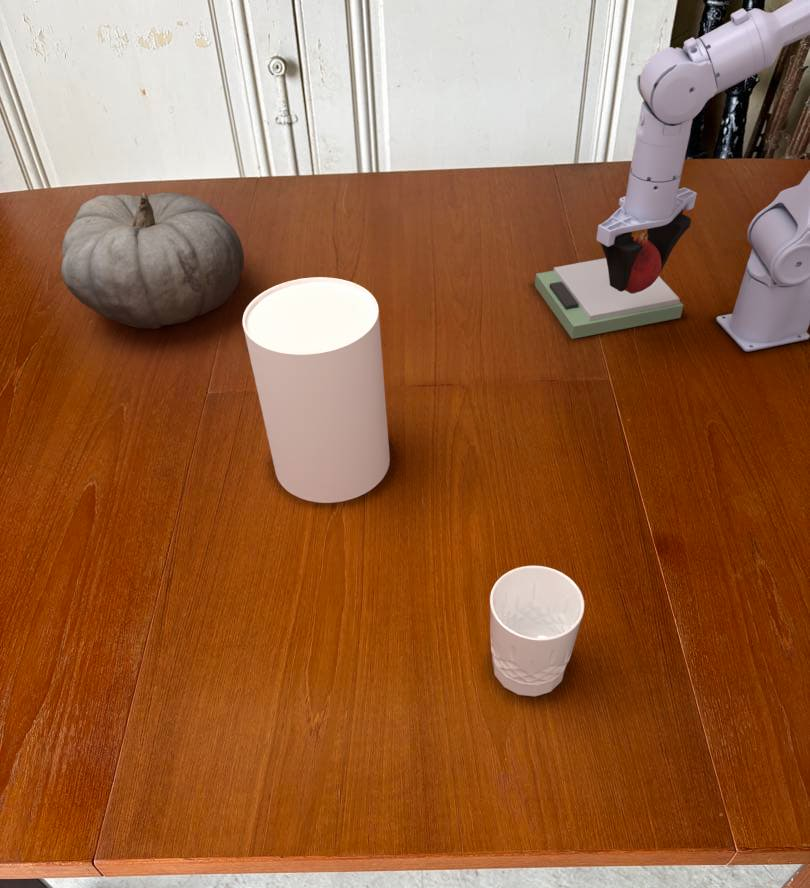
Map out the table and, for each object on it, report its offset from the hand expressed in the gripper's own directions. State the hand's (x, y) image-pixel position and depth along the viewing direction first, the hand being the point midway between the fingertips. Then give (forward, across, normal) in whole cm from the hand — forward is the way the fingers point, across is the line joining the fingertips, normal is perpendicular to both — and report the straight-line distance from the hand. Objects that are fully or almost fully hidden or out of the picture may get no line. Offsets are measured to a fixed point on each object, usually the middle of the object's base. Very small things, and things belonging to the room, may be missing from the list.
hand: (635, 278), depth 103 cm
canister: (+9, +44, -4) cm, 45 cm away
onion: (+2, 0, 0) cm, 2 cm away
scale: (+9, -4, -8) cm, 13 cm away
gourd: (+9, +46, -48) cm, 67 cm away
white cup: (+9, +44, +31) cm, 55 cm away
